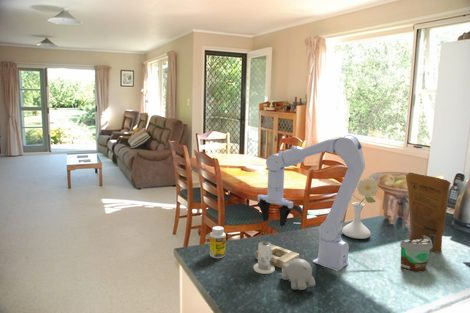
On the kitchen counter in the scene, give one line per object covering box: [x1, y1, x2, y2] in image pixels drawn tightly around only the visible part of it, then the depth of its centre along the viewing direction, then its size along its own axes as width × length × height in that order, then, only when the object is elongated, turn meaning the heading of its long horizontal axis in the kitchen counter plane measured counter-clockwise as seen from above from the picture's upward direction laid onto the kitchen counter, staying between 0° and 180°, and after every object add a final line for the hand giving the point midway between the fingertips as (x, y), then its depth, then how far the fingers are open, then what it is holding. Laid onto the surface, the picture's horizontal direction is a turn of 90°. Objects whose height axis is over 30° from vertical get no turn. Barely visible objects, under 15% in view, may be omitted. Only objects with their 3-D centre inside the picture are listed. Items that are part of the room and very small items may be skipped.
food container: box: [399, 235, 433, 273], centre depth 122 cm, size 12×6×10 cm, turn 117°
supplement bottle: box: [209, 225, 227, 259], centre depth 129 cm, size 6×6×10 cm
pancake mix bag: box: [405, 171, 452, 253], centre depth 142 cm, size 7×19×28 cm, turn 16°
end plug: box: [257, 241, 273, 270], centre depth 120 cm, size 4×4×8 cm
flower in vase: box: [341, 177, 380, 240], centre depth 149 cm, size 13×11×25 cm
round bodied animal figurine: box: [281, 258, 316, 291], centre depth 111 cm, size 7×12×8 cm, turn 30°
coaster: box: [253, 262, 276, 275], centre depth 121 cm, size 7×7×1 cm
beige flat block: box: [255, 244, 301, 269], centre depth 128 cm, size 12×9×2 cm
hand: (273, 222), depth 134 cm, fingers open, 7 cm apart
